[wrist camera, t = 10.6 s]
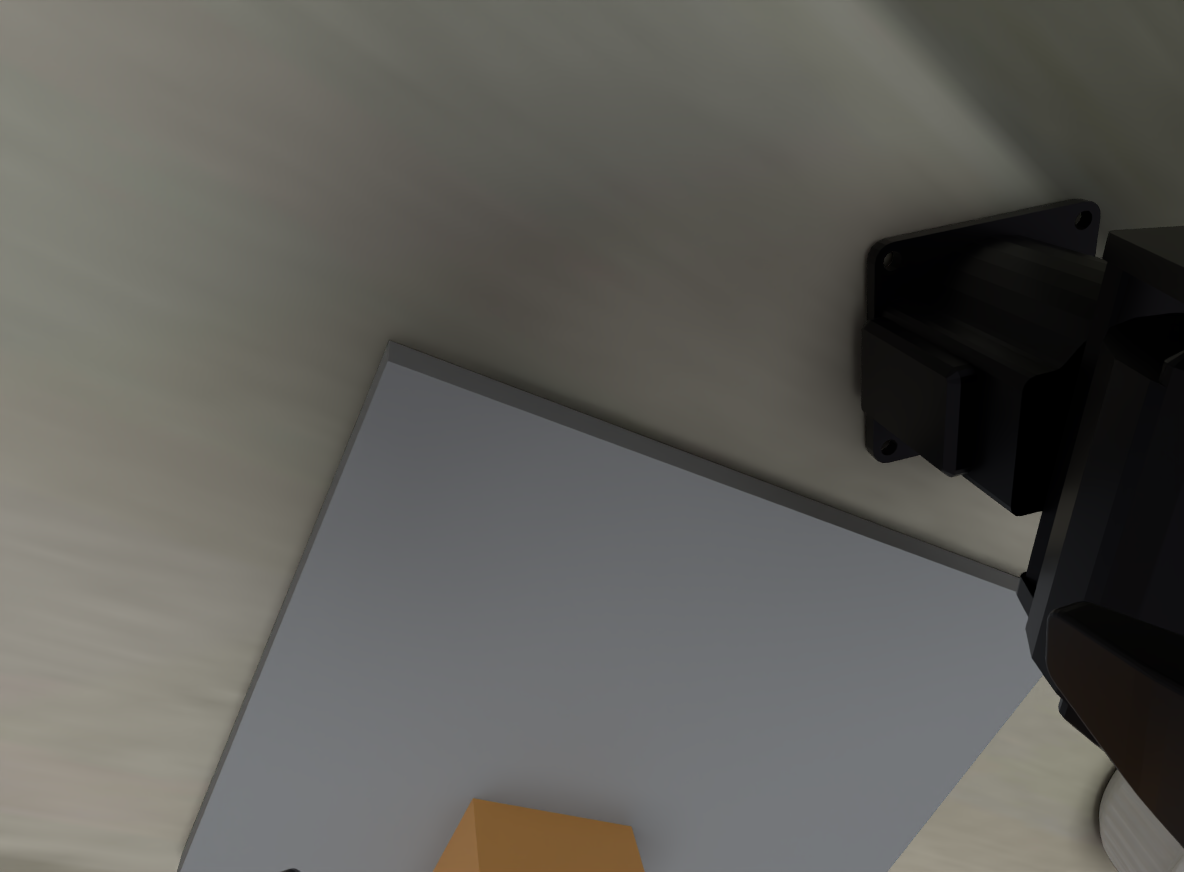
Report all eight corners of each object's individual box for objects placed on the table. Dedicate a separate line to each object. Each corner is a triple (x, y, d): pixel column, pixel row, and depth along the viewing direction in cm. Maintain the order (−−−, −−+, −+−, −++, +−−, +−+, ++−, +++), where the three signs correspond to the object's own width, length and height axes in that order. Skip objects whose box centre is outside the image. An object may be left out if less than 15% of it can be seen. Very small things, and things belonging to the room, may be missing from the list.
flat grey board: (1055, 591, 28) (1087, 618, 27) (792, 934, 33) (809, 970, 32) (389, 340, 20) (387, 360, 18) (182, 853, 25) (169, 898, 24)
